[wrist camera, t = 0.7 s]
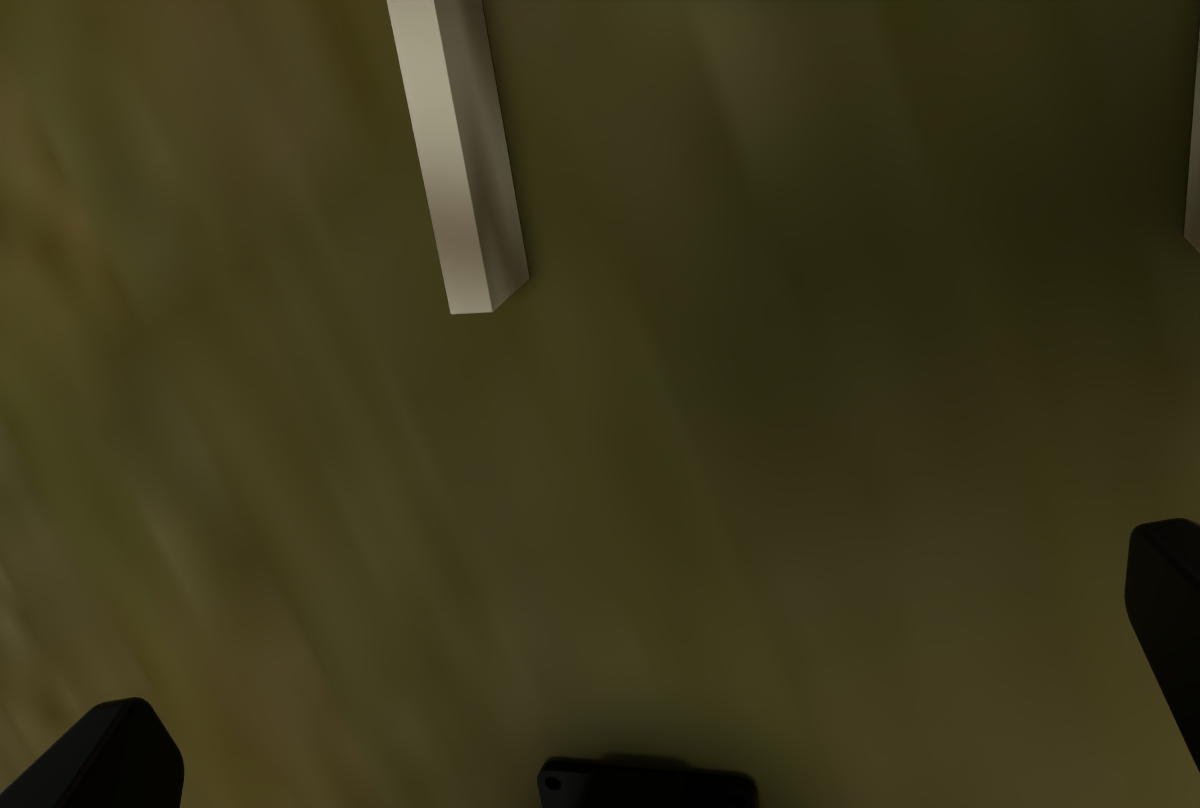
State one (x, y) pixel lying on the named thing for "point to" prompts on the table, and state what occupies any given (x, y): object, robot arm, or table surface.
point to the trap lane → (480, 157)
